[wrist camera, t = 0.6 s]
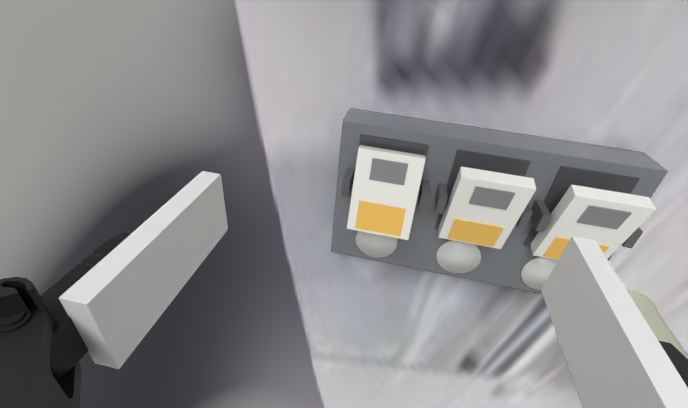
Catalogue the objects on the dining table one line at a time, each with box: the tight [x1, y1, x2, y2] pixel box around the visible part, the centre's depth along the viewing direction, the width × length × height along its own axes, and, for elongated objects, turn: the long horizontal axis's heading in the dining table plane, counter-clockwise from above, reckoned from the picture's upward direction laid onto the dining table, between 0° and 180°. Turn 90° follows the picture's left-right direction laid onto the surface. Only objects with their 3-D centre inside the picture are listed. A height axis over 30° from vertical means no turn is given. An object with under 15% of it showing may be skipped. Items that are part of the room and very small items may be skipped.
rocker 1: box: [347, 145, 426, 240], centre depth 33 cm, size 8×6×2 cm
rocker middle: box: [439, 167, 536, 249], centre depth 32 cm, size 8×6×2 cm
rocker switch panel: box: [331, 108, 668, 294], centre depth 36 cm, size 16×28×7 cm, turn 85°
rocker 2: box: [531, 185, 656, 260], centre depth 31 cm, size 8×6×2 cm
